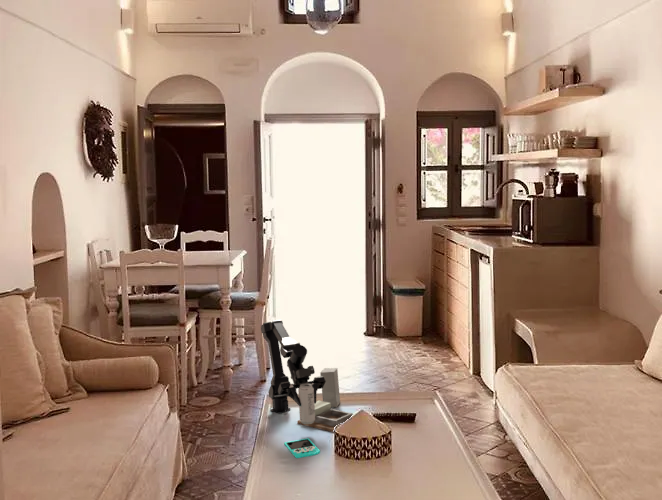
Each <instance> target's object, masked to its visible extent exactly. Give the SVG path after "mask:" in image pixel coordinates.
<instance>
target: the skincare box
mask: <svg viewBox="0 0 662 500" xmlns="http://www.w3.org/2000/svg"><path fill="white" fill-rule="evenodd" d="M338 372H339V371H338V367H331V368H330V367H325V368H323V369H322V370H321V371H320V372H319V373H320V375H319V376H323V377H324V378H325V380H326V382H325V384H324V386H323V388H321V394H322V395H321V396H322V401H324V402H328V403H331V408H338V406H339V404H340V403H341V396H340V385H339V373H338Z"/></svg>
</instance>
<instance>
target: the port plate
mask: <svg viewBox="0 0 662 500" xmlns="http://www.w3.org/2000/svg"><path fill="white" fill-rule="evenodd" d="M314 405H315V420H314V423H312V424H302V423H301V421H300V419H299V420H297V421H296V422H297V424H298V425H301V426H306V427H309V428H310V427H311V428H314V429H318V430H319V429H320V430H323V431H326V432H327V431H328V432H331V433H334V432H333V430H334V427H335V426H336V425H338V424H340V423H343V422H345V421H346V420H347V419H349V418H350V417H351V416H352V415H354V414H353V412H348V411H342V410H338V409H334V408H332V407H331V403H328V402H324V401H323V400H316V404H315V403H314Z"/></svg>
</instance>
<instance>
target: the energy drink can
mask: <svg viewBox="0 0 662 500" xmlns="http://www.w3.org/2000/svg"><path fill="white" fill-rule="evenodd" d="M297 389H298V391H297V393H298V397H299V400H300V403H301V406H299V405H298V409H299V411H298V412H299V420H300V421H301V423H302V424H312V423H314V420H315V405H314V389H313V387H312V384H309V383H305V384H301V385H300V387H299V388H297Z"/></svg>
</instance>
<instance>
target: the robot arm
mask: <svg viewBox="0 0 662 500" xmlns="http://www.w3.org/2000/svg"><path fill="white" fill-rule="evenodd" d="M260 332H261V333H262V336H263V339H264V340H265V341H266V342H267V345H268V352H269V358H270V363H271V365H270V366H271V369H272V370H271V371H272V377H271V380H270V386H269V389H268V397H269V399H271V400H272V409H270V410H269V411H270V412H274V413H279V414H282V413H283V414H284V413H285V412H288V411H289V410H291V407H289V400H288V398H290V399H291V400H293V401H294V402H295V403H296V404H297V405H298V407H299V406H301V403H300V400H299V393H298V391H297V389H299V387H300V385H301V384H305V383H309V384H312V387H313V389H314V403H315V404H316V401H317V393H318V390H320V389H321V390H322V388H323V386H324V384H325V382H326V380H325V378H324V377H323V376H321V375H319V376H315V377H313V380H311V381H309V380H310V379H311V378H310V377H311V376H312V375H314V374H315V368H314V366H313V365H310V366H307V368H305V367H304V365H303V363H304V361H305V359H306V357H307V354H308V349H307V348H306V346H303V345H302V344H301V343H300V342H297V340H295V339H294V338H291V336H290V335H289V333H288V332H287V329H286V328H285V326H284V323H283V320H282V319H275V320H273V319H272V320H271V321H267V322H266V321H265V322H263V323H262V325H260ZM282 357H283V358H284V359H287V361H286V366H287V368H288V370H289V374H290V380H292V382H293V383H291V381H290V380H289V376H286V374H285V373H284V372H285V371H284V367H283V361H282Z"/></svg>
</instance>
